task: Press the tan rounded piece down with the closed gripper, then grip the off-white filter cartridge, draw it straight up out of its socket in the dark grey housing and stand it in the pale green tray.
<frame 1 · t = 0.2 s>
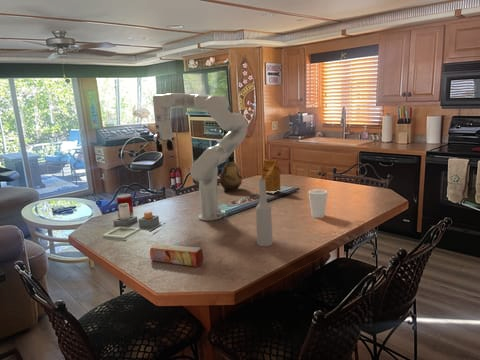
hand: (165, 150, 194), 36 cm above the table, tool pointing down, fingers open, 9 cm apart
coffee package: (270, 192, 240), on the table
housing: (137, 226, 184), on the table
cartridge: (125, 223, 187), point 1 cm above the table, touching housing
ceramic jug: (231, 190, 252), on the table
snack package: (176, 263, 140), on the table
tray: (122, 235, 172), on the table
bottle: (264, 243, 154), on the table
canned food: (126, 214, 208), on the table
tan rounded piece: (148, 216, 181), point 6 cm above the table, slide at 0.0 cm
foam cup: (318, 216, 187), on the table
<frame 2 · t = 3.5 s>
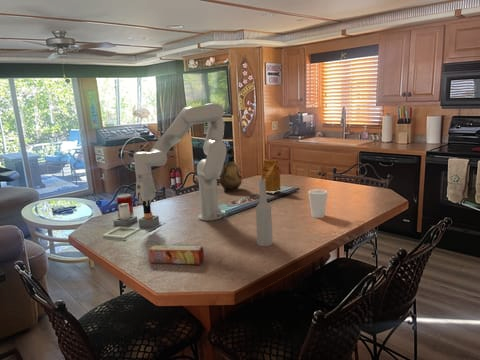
hand: (147, 212, 180), 8 cm above the table, tool pointing down, fingers closed
tan rounded piece: (148, 216, 181), point 6 cm above the table, slide at 0.1 cm, touching gripper
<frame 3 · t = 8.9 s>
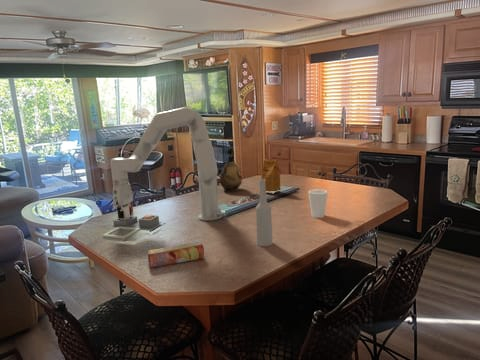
hand: (124, 216, 186), 5 cm above the table, tool pointing down, fingers closed on cartridge, 5 cm apart
cartridge: (125, 223, 187), point 1 cm above the table, touching gripper, housing
tan rounded piece: (148, 220, 181), point 4 cm above the table, slide at 1.8 cm
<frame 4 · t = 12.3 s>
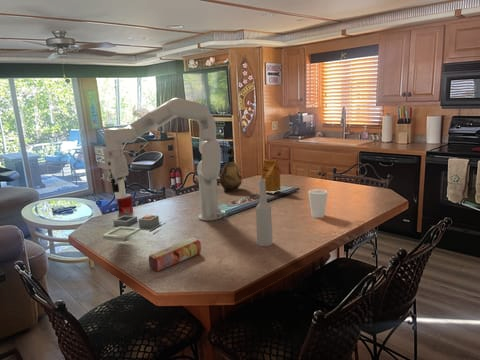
hand: (119, 190, 177), 20 cm above the table, tool pointing down, fingers closed on cartridge, 5 cm apart
cartridge: (120, 197, 178), point 17 cm above the table, touching gripper
when the fingers open (6 cm above the table, at t = 16.0 s): cartridge drops 1 cm, resting on tray.
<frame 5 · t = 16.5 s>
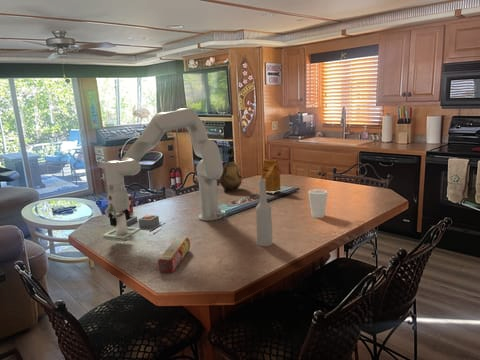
hand: (120, 222, 171), 7 cm above the table, tool pointing down, fingers open, 9 cm apart
cartridge: (122, 234, 172), point 1 cm above the table, touching tray
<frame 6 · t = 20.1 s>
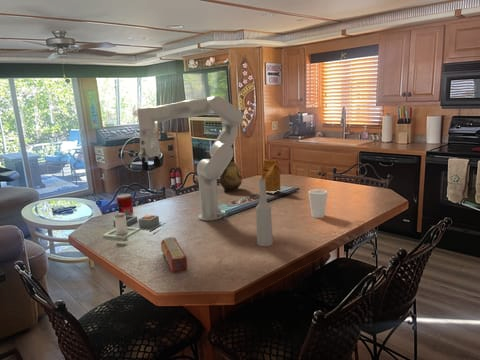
hand: (151, 168, 176), 30 cm above the table, tool pointing down, fingers open, 9 cm apart
at the end: tan rounded piece slide at 1.8 cm; cartridge 0.1 cm off-centre on the tray, point 0.8 cm above the tray's base; cartridge tilted 1° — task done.
